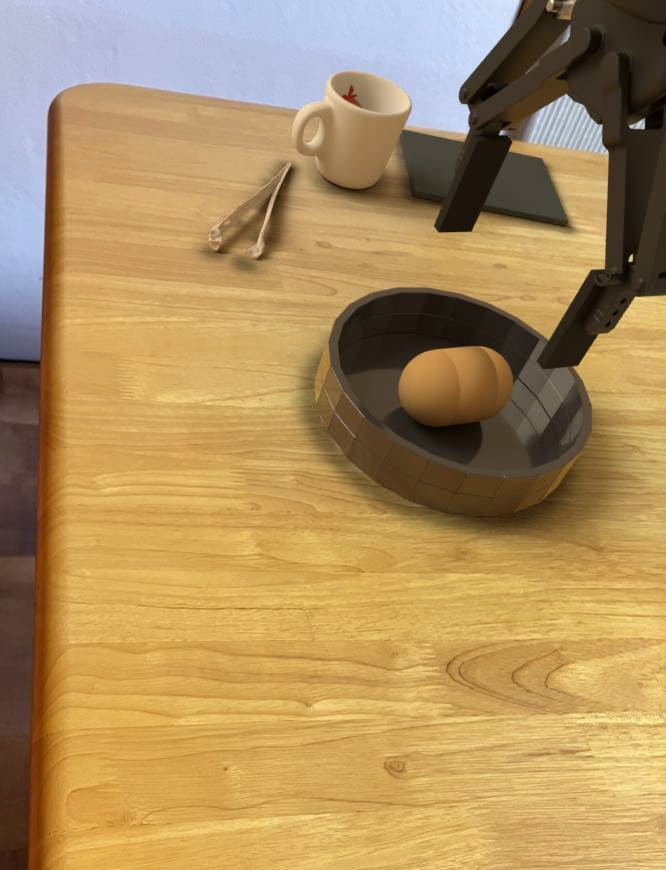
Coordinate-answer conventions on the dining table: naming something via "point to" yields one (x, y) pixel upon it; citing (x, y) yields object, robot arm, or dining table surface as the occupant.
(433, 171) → the mat
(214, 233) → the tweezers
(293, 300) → the dining table surface
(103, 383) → the dining table surface
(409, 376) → the potato
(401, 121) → the cup
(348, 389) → the pan
